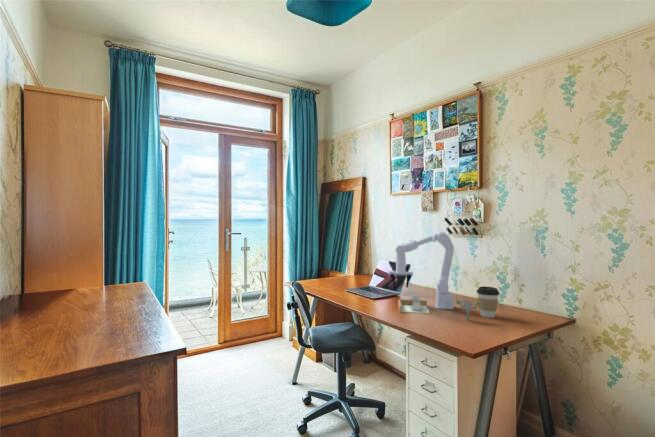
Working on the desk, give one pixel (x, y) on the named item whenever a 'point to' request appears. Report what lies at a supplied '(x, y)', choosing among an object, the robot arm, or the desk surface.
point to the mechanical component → (467, 306)
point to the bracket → (416, 302)
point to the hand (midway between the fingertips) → (400, 287)
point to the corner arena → (406, 306)
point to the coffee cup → (488, 301)
